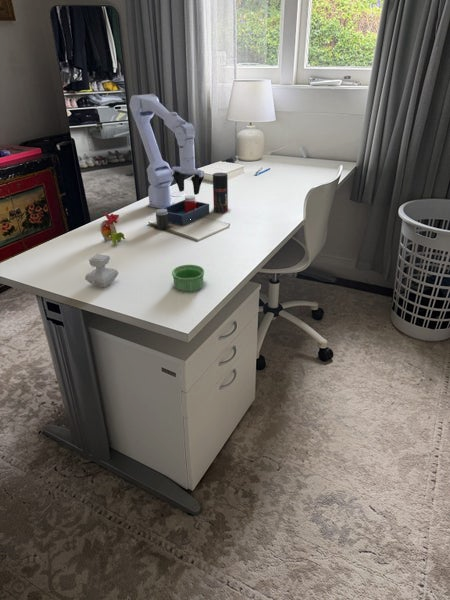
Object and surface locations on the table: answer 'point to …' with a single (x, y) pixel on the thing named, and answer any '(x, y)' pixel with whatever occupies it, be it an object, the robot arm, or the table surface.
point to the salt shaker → (190, 203)
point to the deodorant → (220, 192)
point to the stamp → (101, 271)
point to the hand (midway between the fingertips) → (189, 192)
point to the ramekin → (188, 277)
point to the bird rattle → (110, 229)
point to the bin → (181, 218)
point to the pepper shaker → (162, 219)
